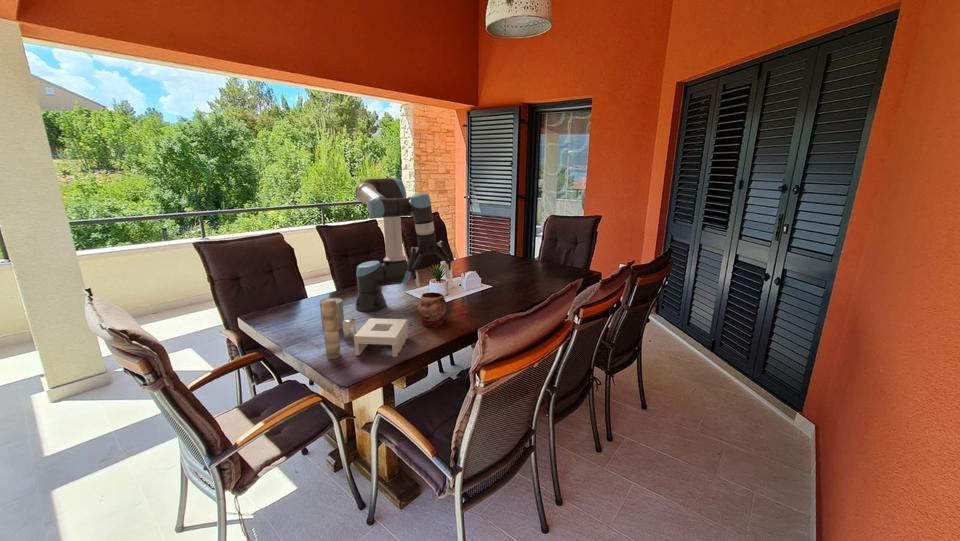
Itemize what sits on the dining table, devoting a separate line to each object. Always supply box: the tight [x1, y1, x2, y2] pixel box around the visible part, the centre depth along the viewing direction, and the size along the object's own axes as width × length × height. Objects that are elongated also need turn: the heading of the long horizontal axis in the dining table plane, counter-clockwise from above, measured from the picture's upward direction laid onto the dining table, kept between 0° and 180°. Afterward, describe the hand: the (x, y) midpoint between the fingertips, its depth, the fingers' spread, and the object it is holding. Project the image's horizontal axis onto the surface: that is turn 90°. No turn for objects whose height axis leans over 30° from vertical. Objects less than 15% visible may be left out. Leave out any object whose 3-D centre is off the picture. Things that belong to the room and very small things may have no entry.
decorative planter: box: [417, 292, 448, 328], centre depth 177 cm, size 20×12×14 cm, turn 168°
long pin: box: [321, 298, 342, 360], centre depth 143 cm, size 5×5×22 cm
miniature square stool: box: [353, 317, 409, 358], centre depth 153 cm, size 18×16×8 cm
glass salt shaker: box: [342, 317, 357, 342], centre depth 160 cm, size 5×5×8 cm
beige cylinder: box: [319, 297, 345, 331], centre depth 171 cm, size 10×10×12 cm
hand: (433, 282), depth 161 cm, fingers open, 13 cm apart
